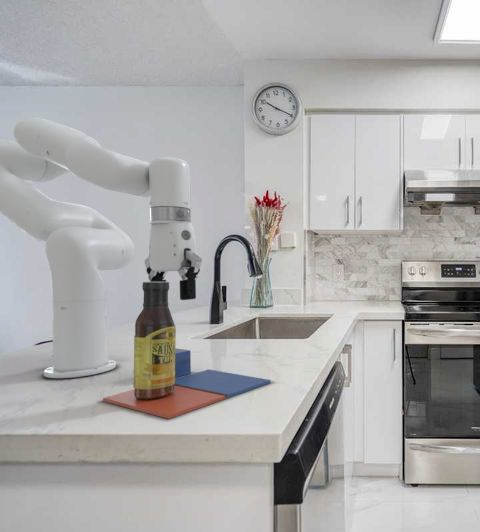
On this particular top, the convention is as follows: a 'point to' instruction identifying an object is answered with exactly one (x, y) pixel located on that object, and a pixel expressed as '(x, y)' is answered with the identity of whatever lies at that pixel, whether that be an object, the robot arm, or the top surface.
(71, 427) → the top surface
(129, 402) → the sorting board
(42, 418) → the top surface
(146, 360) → the sauce bottle
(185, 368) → the blue block
